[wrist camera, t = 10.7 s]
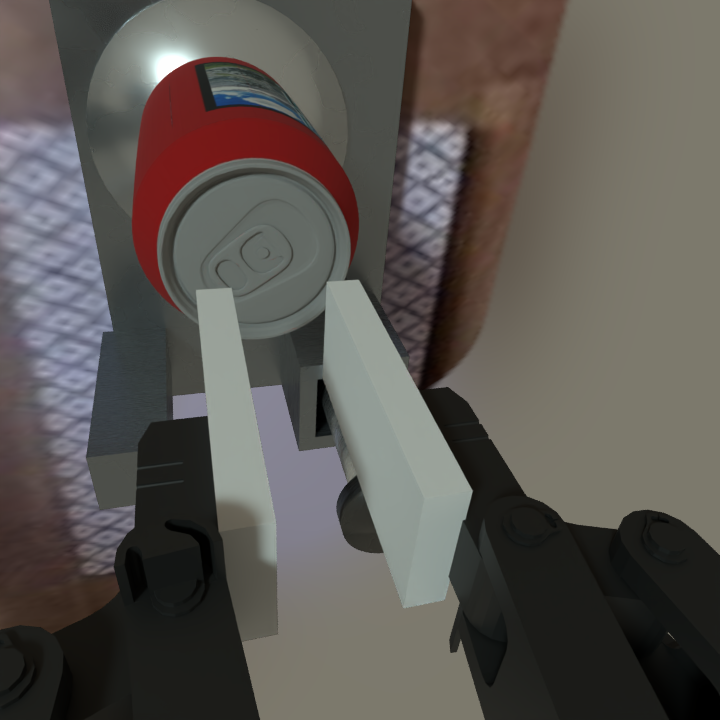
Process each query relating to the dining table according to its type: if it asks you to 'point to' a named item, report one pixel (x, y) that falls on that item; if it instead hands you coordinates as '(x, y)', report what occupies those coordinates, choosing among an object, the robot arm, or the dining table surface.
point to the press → (117, 174)
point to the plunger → (350, 489)
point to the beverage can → (239, 198)
